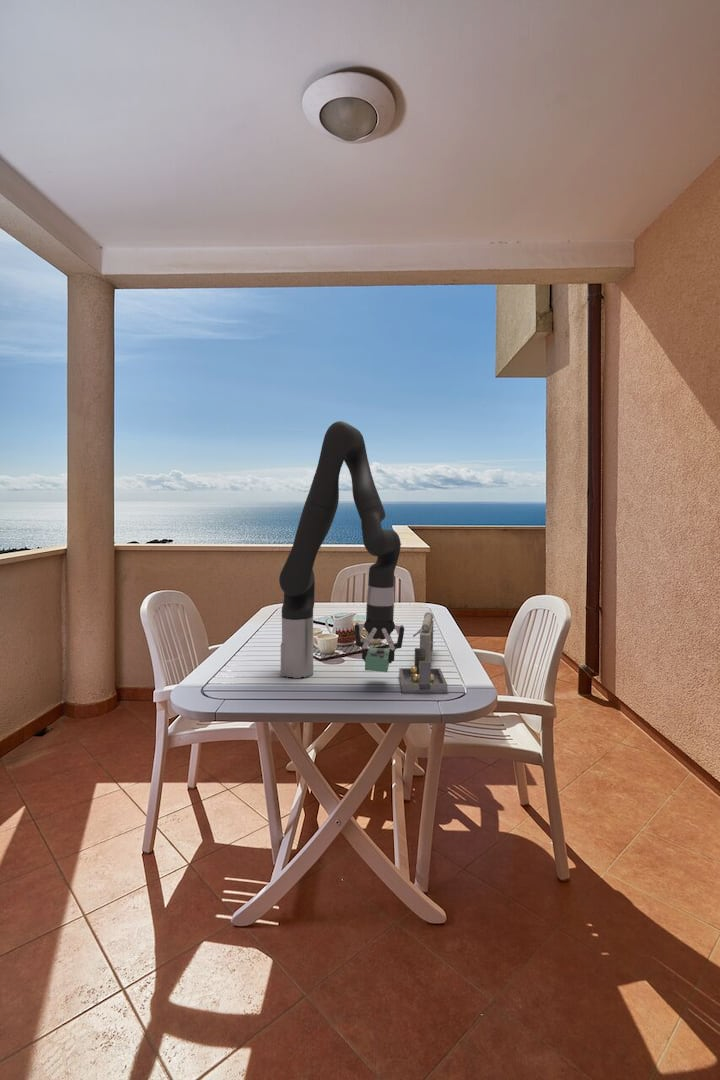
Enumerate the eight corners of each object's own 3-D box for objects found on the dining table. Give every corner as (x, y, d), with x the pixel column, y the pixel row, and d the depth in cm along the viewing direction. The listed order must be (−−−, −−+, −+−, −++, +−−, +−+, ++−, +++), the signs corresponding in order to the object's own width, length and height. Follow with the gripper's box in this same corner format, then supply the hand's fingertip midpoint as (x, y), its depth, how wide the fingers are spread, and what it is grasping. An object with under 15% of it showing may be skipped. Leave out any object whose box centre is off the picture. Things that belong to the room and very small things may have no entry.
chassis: (402, 693, 134) (402, 662, 134) (399, 676, 147) (399, 648, 147) (447, 693, 134) (447, 662, 134) (439, 676, 147) (440, 648, 146)
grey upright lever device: (433, 625, 152) (437, 608, 177) (412, 623, 153) (419, 607, 178) (432, 670, 153) (436, 647, 178) (411, 668, 154) (418, 645, 179)
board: (364, 670, 135) (365, 654, 134) (369, 659, 144) (369, 644, 144) (387, 672, 134) (387, 656, 134) (389, 661, 143) (390, 646, 143)
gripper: (353, 603, 134) (351, 665, 136) (407, 606, 134) (404, 667, 135) (354, 598, 142) (352, 656, 143) (406, 600, 141) (403, 659, 142)
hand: (378, 661), depth 139 cm, fingers closed on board, 6 cm apart
